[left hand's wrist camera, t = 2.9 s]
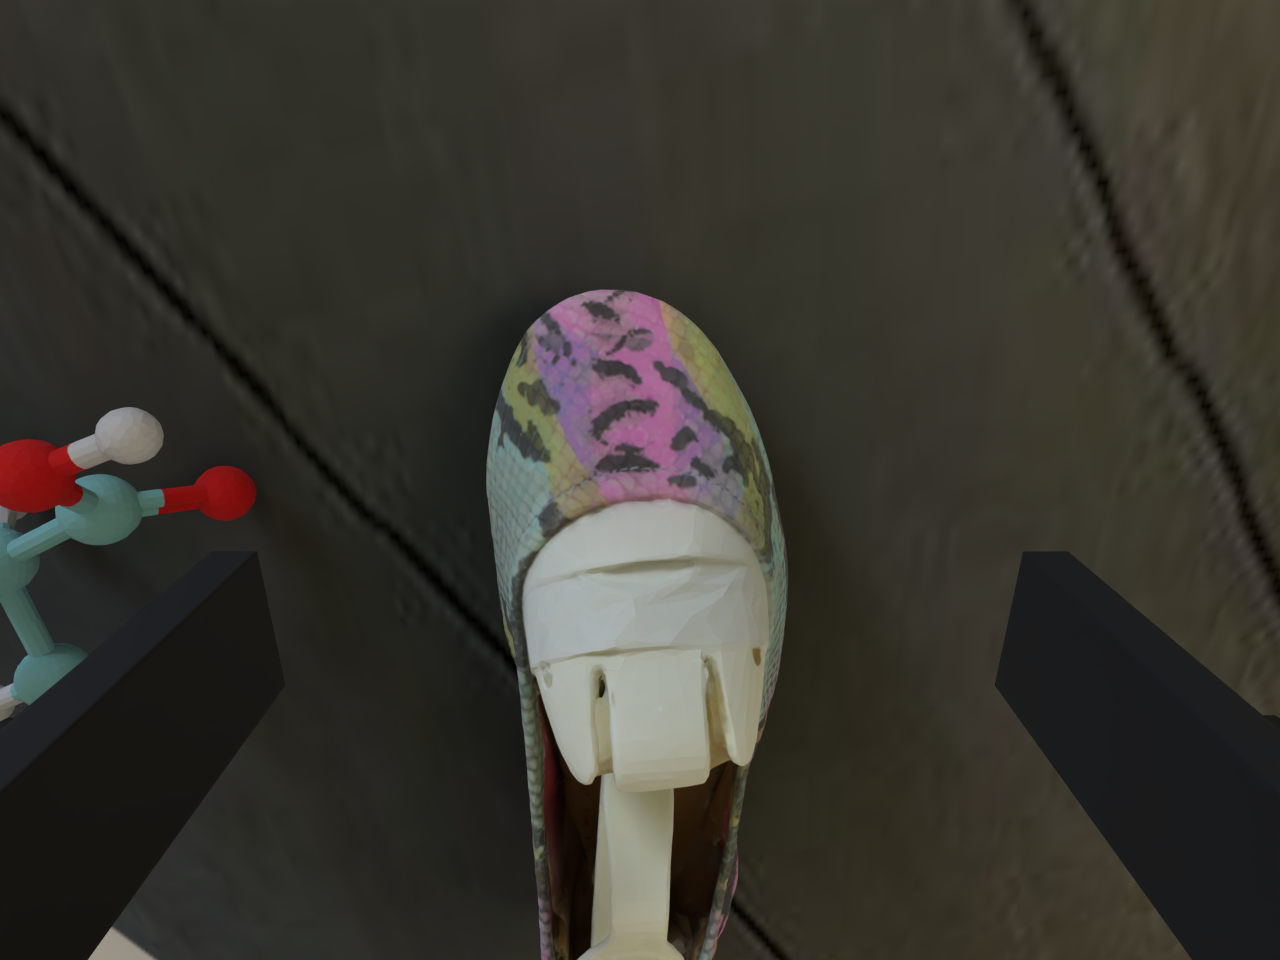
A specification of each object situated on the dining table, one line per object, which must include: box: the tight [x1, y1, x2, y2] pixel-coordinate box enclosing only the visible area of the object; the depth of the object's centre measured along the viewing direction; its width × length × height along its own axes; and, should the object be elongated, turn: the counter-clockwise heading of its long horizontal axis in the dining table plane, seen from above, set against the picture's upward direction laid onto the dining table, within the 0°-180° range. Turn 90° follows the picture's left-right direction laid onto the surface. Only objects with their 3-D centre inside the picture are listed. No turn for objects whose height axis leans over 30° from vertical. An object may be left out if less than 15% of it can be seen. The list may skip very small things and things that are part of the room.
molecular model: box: [0, 407, 256, 721], centre depth 19 cm, size 12×10×10 cm
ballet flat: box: [486, 290, 788, 960], centre depth 21 cm, size 8×24×9 cm, turn 0°
